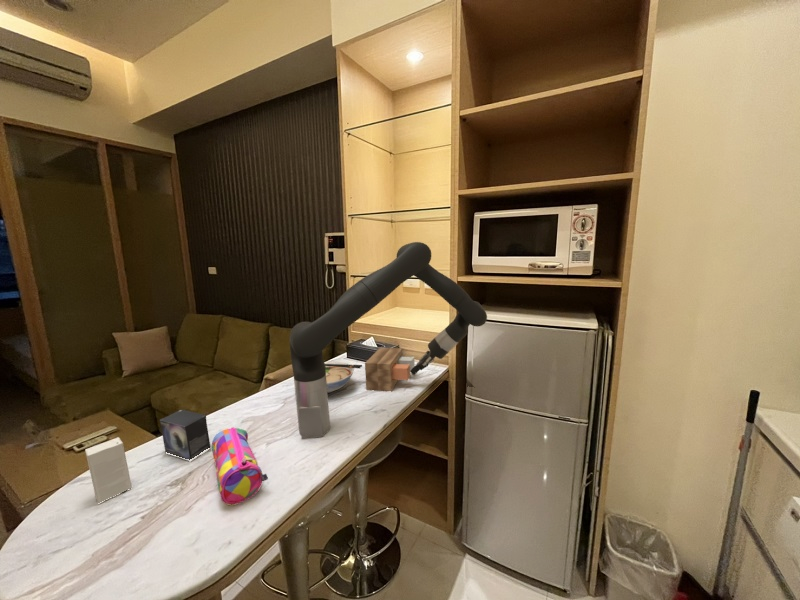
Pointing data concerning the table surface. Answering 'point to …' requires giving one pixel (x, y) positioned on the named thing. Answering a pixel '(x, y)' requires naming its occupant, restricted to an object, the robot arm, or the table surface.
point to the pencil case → (236, 466)
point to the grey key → (407, 361)
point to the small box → (185, 434)
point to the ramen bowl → (338, 374)
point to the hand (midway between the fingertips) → (412, 372)
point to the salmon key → (401, 371)
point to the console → (381, 369)
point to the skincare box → (108, 469)
